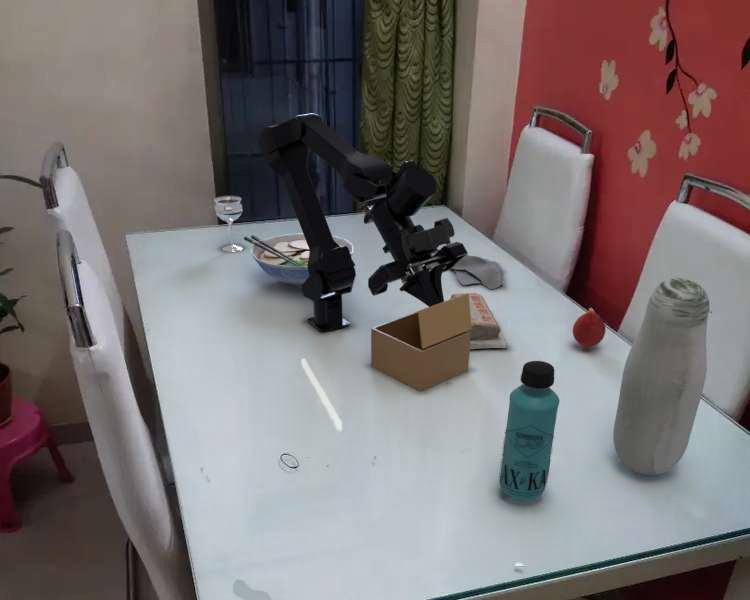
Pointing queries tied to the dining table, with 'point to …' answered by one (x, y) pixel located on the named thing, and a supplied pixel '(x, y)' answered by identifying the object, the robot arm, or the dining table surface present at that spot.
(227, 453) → the dining table surface
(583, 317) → the onion
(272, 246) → the ramen bowl
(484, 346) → the packaged product
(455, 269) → the cloth
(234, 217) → the wineglass
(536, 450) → the beverage bottle
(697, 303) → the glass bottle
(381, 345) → the carton
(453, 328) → the flap
